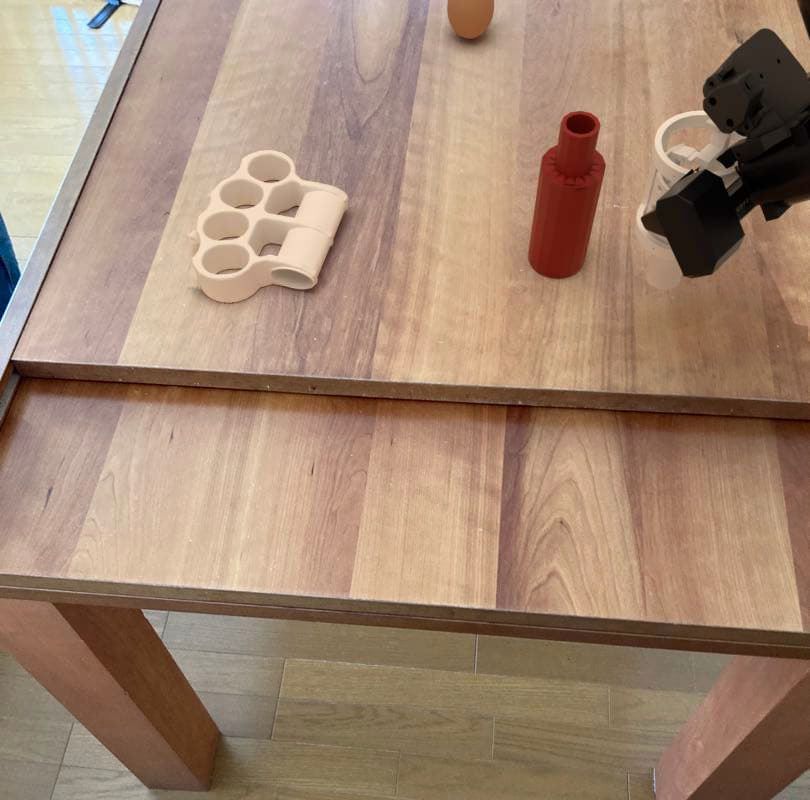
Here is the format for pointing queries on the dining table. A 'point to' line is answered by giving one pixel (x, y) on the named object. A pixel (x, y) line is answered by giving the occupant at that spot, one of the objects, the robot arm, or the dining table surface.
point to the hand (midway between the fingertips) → (670, 199)
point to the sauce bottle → (567, 198)
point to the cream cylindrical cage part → (666, 174)
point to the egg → (470, 16)
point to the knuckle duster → (265, 229)
